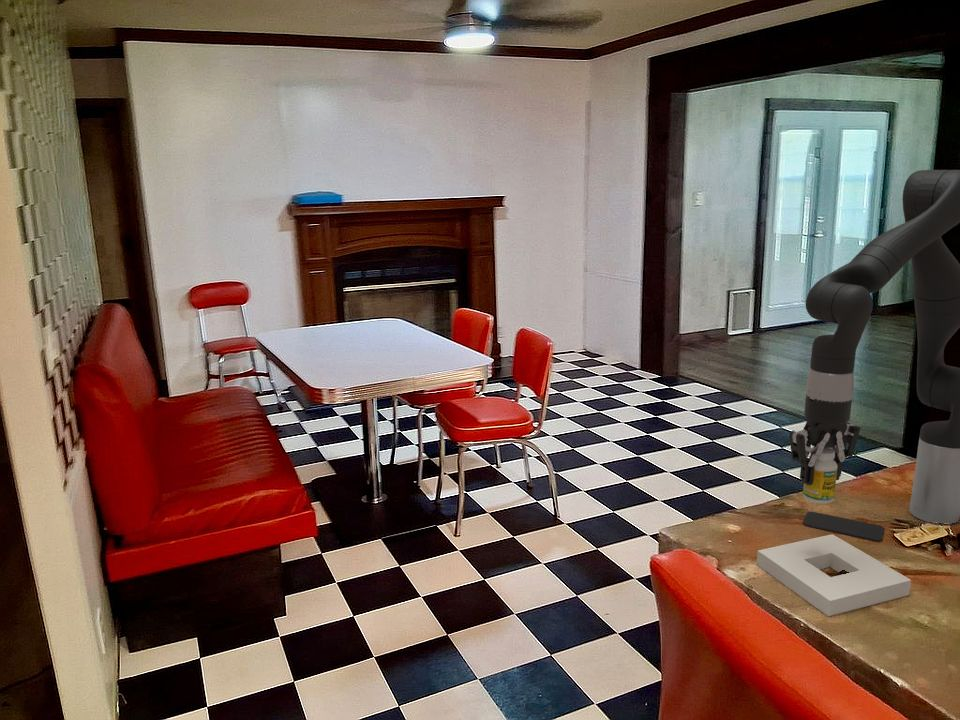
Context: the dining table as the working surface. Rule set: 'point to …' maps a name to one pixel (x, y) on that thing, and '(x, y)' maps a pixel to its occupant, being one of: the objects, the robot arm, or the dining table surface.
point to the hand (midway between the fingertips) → (819, 480)
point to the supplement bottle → (822, 478)
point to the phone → (844, 526)
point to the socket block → (838, 593)
